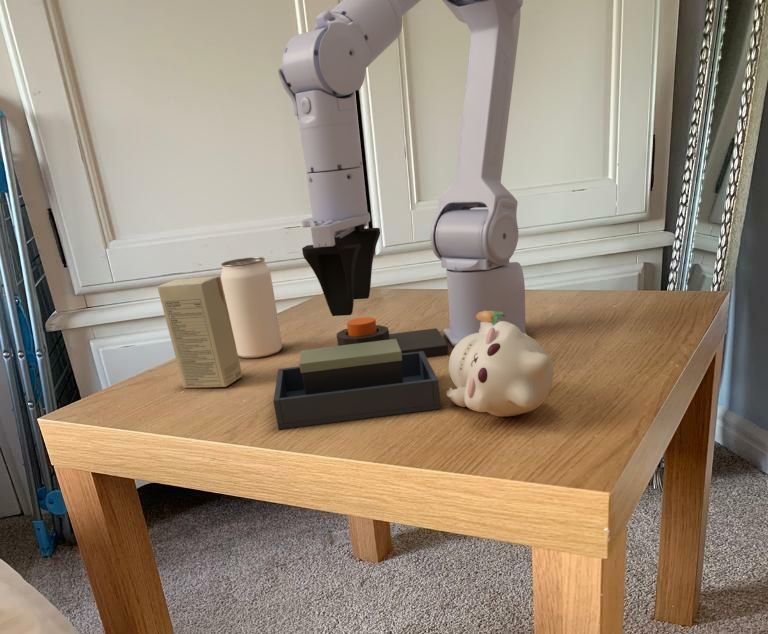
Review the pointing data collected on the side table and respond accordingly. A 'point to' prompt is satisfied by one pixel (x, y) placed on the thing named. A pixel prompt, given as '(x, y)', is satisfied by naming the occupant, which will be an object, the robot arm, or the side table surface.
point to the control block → (402, 340)
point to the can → (251, 307)
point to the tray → (356, 396)
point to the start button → (361, 326)
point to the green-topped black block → (351, 366)
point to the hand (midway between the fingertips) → (351, 306)
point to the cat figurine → (499, 369)
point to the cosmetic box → (200, 331)
